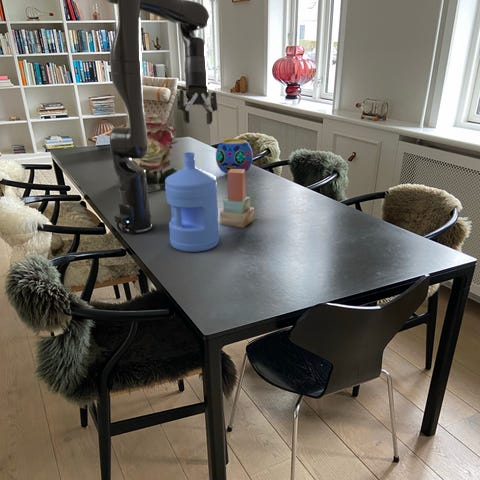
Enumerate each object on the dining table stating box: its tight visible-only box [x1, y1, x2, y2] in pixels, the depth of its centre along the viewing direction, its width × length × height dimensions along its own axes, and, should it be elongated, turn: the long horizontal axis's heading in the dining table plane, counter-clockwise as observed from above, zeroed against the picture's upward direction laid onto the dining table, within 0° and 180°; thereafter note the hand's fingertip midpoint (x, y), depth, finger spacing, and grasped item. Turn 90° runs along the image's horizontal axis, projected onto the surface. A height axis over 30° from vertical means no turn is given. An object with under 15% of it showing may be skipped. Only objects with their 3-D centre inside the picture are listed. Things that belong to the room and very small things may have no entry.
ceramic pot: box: [215, 138, 254, 175], centre depth 228 cm, size 18×18×15 cm
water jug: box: [164, 151, 220, 253], centre depth 149 cm, size 16×16×28 cm
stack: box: [219, 196, 255, 229], centre depth 171 cm, size 9×9×8 cm
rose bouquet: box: [131, 112, 179, 193], centre depth 209 cm, size 26×29×30 cm
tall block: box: [226, 169, 247, 201], centre depth 167 cm, size 5×5×10 cm
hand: (198, 123), depth 171 cm, fingers open, 8 cm apart
